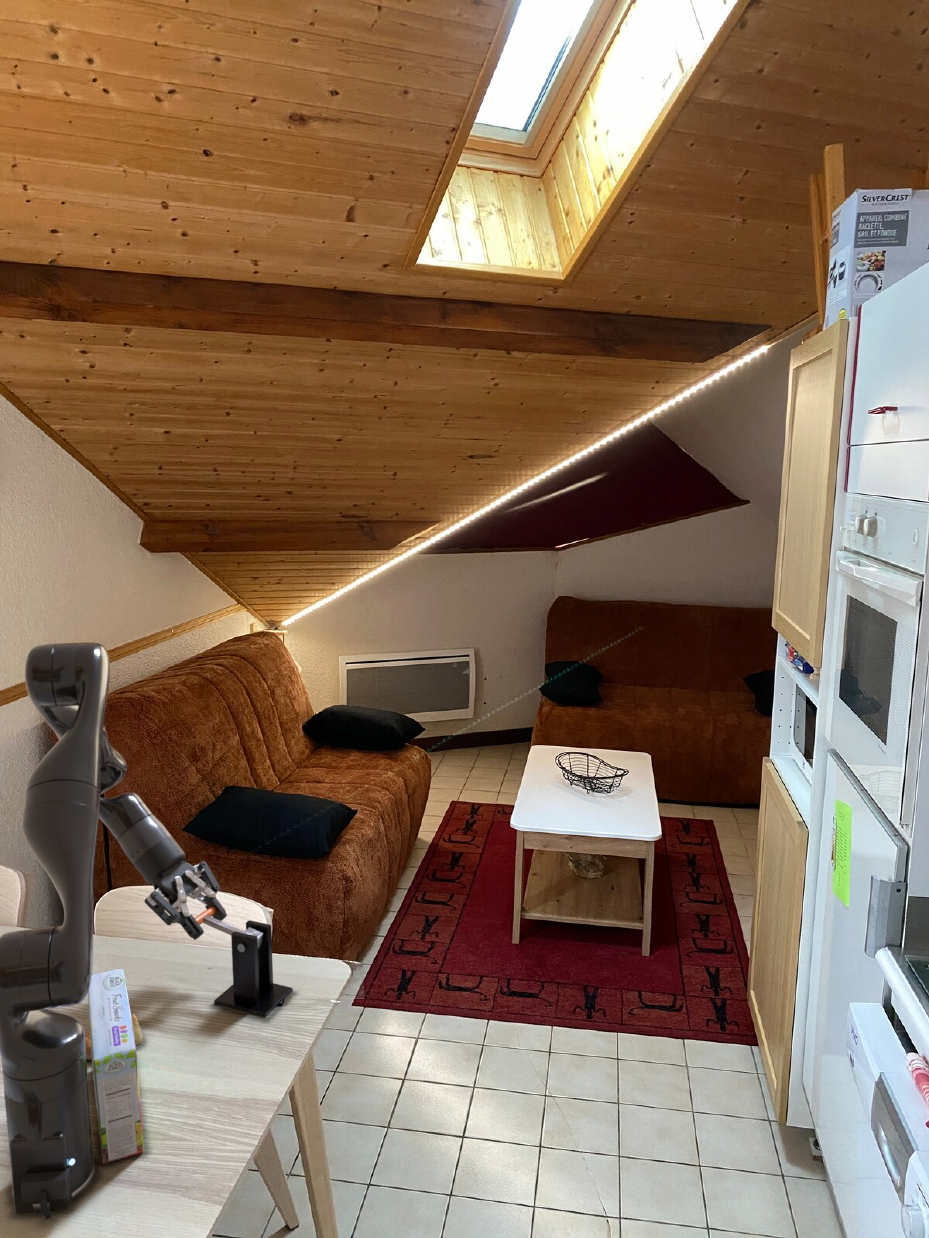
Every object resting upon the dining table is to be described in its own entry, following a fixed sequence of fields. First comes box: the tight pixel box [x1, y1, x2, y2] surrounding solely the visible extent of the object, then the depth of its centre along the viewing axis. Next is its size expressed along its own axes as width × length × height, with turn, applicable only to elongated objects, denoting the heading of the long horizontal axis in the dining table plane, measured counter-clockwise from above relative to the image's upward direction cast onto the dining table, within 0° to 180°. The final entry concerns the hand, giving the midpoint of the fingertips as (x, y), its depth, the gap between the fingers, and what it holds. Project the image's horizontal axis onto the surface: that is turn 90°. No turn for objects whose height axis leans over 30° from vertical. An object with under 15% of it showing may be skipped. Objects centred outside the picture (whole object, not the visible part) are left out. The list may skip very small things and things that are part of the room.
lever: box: [194, 907, 263, 948], centre depth 150 cm, size 12×6×2 cm, turn 68°
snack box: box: [87, 967, 145, 1165], centre depth 124 cm, size 21×6×15 cm, turn 25°
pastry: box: [85, 1012, 144, 1061], centre depth 138 cm, size 9×7×4 cm
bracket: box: [213, 919, 294, 1018], centre depth 150 cm, size 10×8×13 cm
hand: (211, 927), depth 152 cm, fingers closed on lever, 5 cm apart
